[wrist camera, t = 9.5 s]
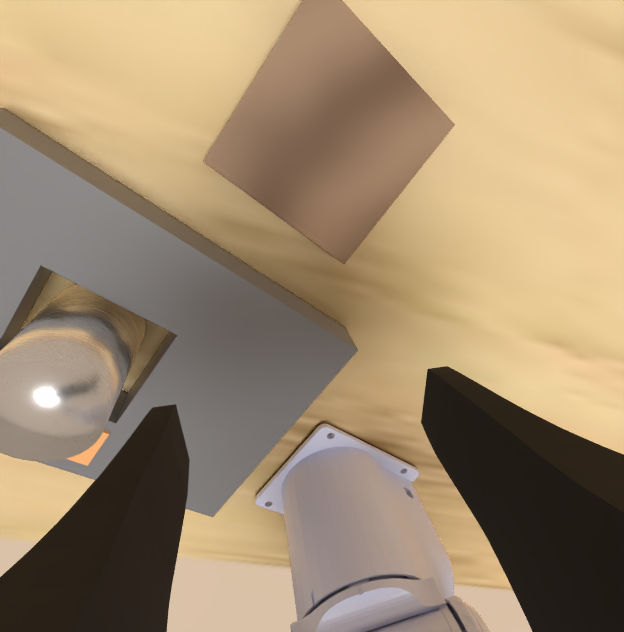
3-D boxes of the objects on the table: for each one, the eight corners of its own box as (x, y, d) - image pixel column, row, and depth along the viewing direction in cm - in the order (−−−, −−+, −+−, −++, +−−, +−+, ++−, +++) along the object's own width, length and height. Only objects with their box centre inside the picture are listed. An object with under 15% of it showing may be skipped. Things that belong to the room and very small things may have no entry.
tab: (444, 124, 18) (454, 124, 17) (339, 258, 20) (343, 264, 19) (314, -17, 15) (318, -25, 14) (204, 159, 17) (202, 161, 16)
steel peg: (163, 315, 20) (131, 401, 14) (115, 373, 21) (65, 477, 15) (80, 264, 18) (0, 336, 12) (32, 329, 19) (-65, 428, 13)
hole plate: (345, 327, 22) (359, 352, 20) (214, 483, 26) (212, 520, 23) (4, 108, 15) (-40, 105, 13) (-113, 366, 18) (-164, 402, 16)
